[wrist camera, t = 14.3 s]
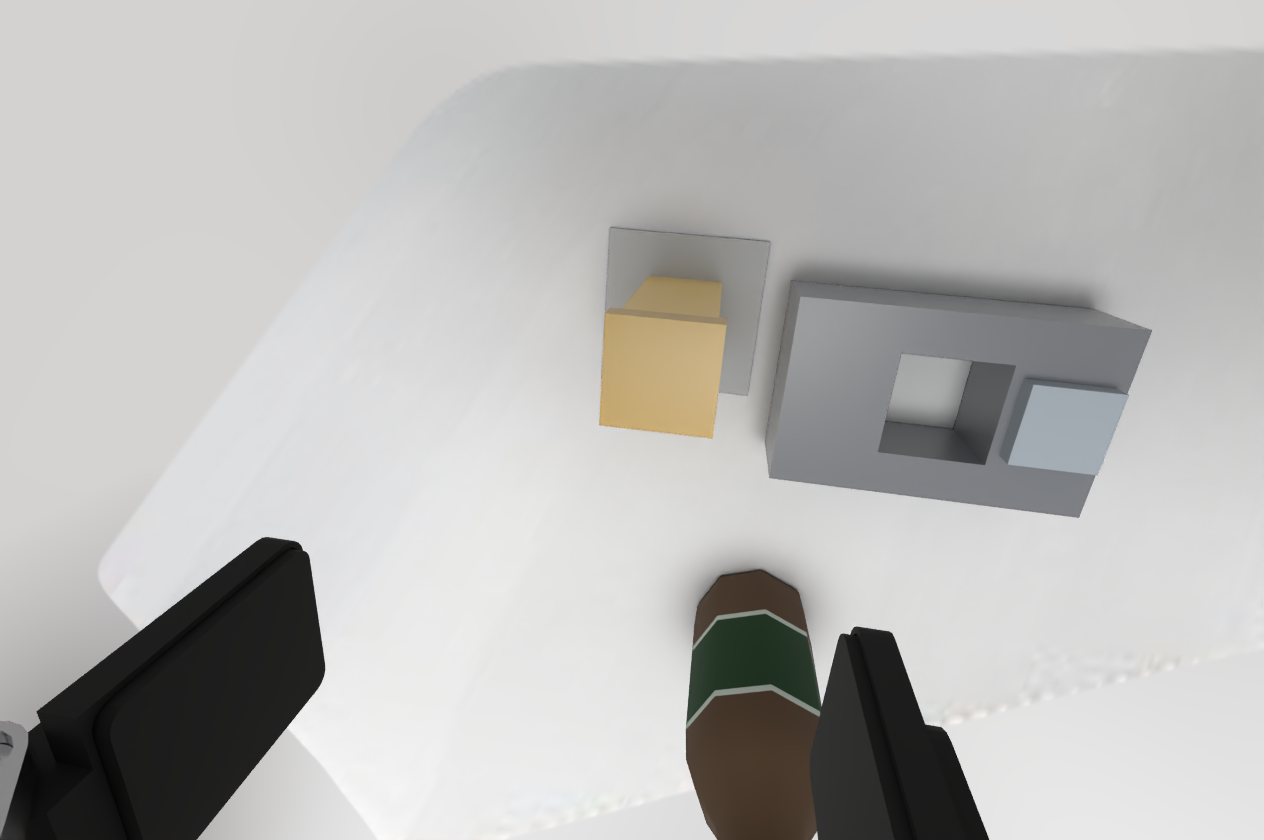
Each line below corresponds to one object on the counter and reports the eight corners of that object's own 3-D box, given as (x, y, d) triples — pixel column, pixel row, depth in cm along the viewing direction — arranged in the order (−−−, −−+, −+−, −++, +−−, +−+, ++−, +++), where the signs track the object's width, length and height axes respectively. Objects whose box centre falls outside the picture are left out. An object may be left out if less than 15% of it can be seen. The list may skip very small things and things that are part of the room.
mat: (770, 241, 35) (770, 242, 34) (747, 394, 38) (747, 395, 38) (610, 227, 36) (609, 228, 35) (602, 377, 39) (601, 379, 39)
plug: (728, 277, 35) (726, 325, 24) (718, 358, 37) (712, 438, 26) (644, 269, 36) (604, 313, 25) (638, 350, 38) (599, 425, 27)
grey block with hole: (1094, 309, 34) (1165, 335, 28) (1035, 475, 37) (1088, 527, 32) (791, 280, 35) (802, 300, 30) (765, 442, 39) (770, 486, 34)
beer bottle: (688, 645, 46) (647, 1087, 24) (704, 556, 43) (676, 966, 21) (795, 666, 45) (857, 1143, 23) (820, 577, 42) (919, 1026, 20)
